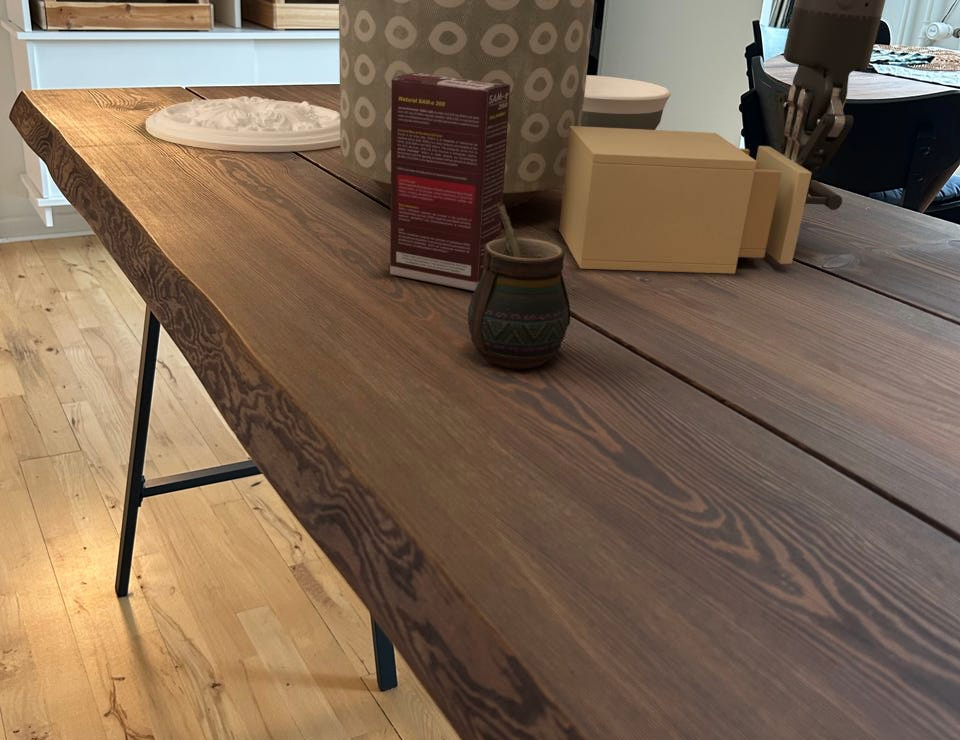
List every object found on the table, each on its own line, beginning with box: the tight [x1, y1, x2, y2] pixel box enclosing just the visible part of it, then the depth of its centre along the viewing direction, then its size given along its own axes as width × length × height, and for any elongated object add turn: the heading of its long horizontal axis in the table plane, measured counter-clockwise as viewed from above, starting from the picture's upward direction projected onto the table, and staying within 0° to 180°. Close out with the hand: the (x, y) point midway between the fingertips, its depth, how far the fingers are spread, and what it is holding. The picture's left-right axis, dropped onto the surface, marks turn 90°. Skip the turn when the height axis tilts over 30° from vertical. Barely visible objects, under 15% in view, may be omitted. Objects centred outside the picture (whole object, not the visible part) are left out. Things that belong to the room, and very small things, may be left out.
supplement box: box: [389, 73, 510, 292], centre depth 85 cm, size 9×5×16 cm, turn 65°
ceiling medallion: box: [145, 95, 340, 153], centre depth 138 cm, size 28×28×3 cm
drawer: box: [737, 145, 843, 265], centre depth 98 cm, size 18×11×8 cm, turn 95°
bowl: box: [581, 74, 672, 130], centre depth 139 cm, size 19×19×8 cm
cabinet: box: [558, 126, 757, 275], centre depth 97 cm, size 15×13×10 cm
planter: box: [338, 0, 595, 210], centre depth 105 cm, size 25×25×24 cm
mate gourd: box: [467, 204, 571, 370], centre depth 72 cm, size 7×8×10 cm
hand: (790, 207), depth 99 cm, fingers closed
